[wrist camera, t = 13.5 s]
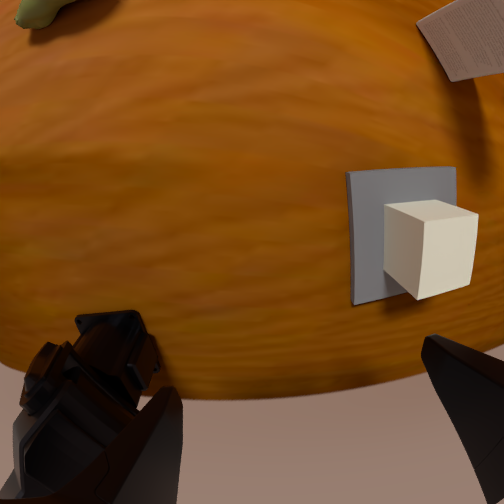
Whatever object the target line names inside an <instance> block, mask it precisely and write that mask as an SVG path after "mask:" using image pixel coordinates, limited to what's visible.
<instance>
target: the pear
mask: <svg viewBox="0 0 504 504" xmlns="http://www.w3.org/2000/svg"><path fill="white" fill-rule="evenodd" d="M74 1H76V0H22V1H21V3H20V5H19V9H18V10H17V11H18V12H17V15H16V17H15V18H14V20H16V24H17V25H18V26H20V27H22V28H23V29H27V28H35V29H41V28H44V27H46V26H48V25H49V24H50V23H51V22H52V21H53V20H54V18H55V16H56V14H57V12H58V10H59V9H60V8H61V7H62V6H64V5H66V4H68V3H71V2H74Z"/></svg>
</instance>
